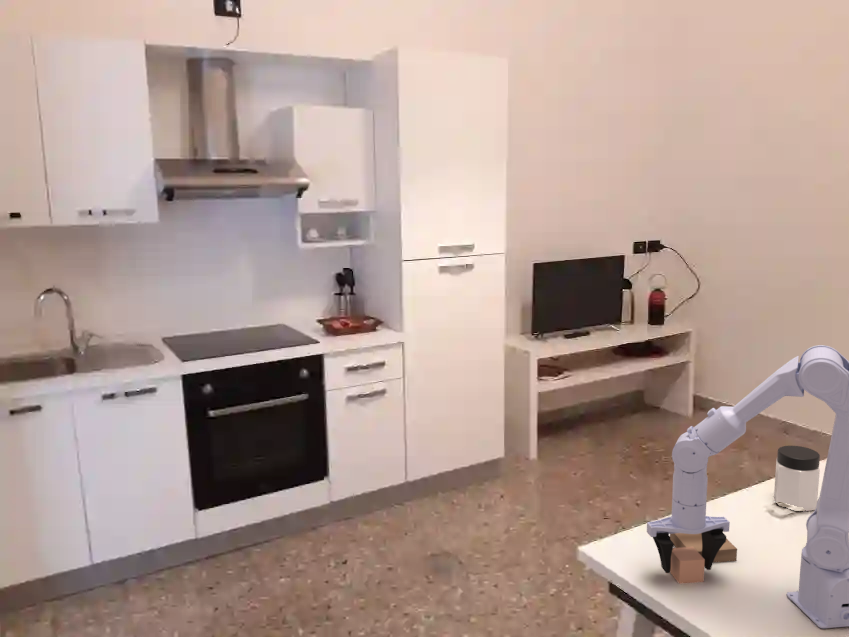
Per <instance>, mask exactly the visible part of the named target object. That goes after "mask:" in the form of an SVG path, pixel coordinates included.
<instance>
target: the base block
mask: <svg viewBox="0 0 849 637" xmlns="http://www.w3.org/2000/svg"><path fill="white" fill-rule="evenodd" d="M669 536H670V540H671V541H672V542H673V543H674V548H681V547H694V548H695V549H696V550H697V552H698V553H699V554H700V555H701V556H702V535H701V533H700V534H684V533H674V534H669ZM737 554H738V547H736V546H735V545H734V544H733V543H732V542H731V541H730V540H729V539H728V538H727V537H726V542H725V543H724V544H723V545H722V547H721V548H720V549H719V551H718V553H717V554H716V557H715V559H714V561H713V563H727V561H729V562H737Z"/></svg>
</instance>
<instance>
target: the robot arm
mask: <svg viewBox="0 0 849 637" xmlns="http://www.w3.org/2000/svg"><path fill="white" fill-rule="evenodd" d="M805 391H806V392H807V393H808V394H809V395H811V396H812V397H814V398H817V399H818V400H821V401H822V402H824V403H825V404H826V405H827V406H828V407H829V408H830V409H831V410H832V411H833V412H834V413H835V418H834V422H833V427H832V432H831V437H830V442H829V446H828V451H827V457H826V462H825V468H824V472H823V477H822V482H821V488H820V491H819V492H820V493H819V496H818V498H817V506H816V509H815V510H813V512H812V513H811V514H810V515H809V516H808V518H807V519H806V524H805V526H806V536H807V537H806V544H805V545H804V547H803V548H801V557H800V567H799V569H800V570H799V580H798V581H799V582H798V590H797V591H788V592H786V596H787V598H789V599H790V601H791V602H793V603H794V604H795V605H796V606H797V607H798V609H800V610H801V611H802V612H803V614H805V615H806V616H807V617H808V618H809V619H810V621H812V622H813V623H814V624H815V626H817V627H818V628H820V629H832V628H833V629H834V628H843V627H849V360H848V359H847V358H846V357H845V356H844V355H842V353H840V351H838V350H837V349H836V348H834V347H832V346H829V345H822V344H819V345H813V346H810V347H809V348H807V349H806V350H805V351H804V352H803V353H802V354H801V356H800V358H799V355H797V356H795V357H793V358H791V359H790V360H789V361H788V362H786V363H784V364H783V365H781V366H780V367H779V368H778V369H777V370H775V371H774V372H773V373H771V375H769V376H768V377H767V378H766V379H764V380H763V381H762V382H761V383H760V384H759V385H758V386H756V387H755V388H754V389H753V390H751V391H750V392H749V393H748V394H747V395H745V397H743V398H742V399H741V400H740V401H738V402H737V403H736V404H735V405H734V406H728V405H727V406H726V405H723V406H722V405H721V406H719V407H718V408H717V409H716V408H715V407H712V408H710V409H709V410H708V412H707V413H706V415H707V416H706V417H705V418H704V419H703V420H702V421H700V422H699V423H697V424H696V425H695V426H693V425H691V426H689V427H688V428H687V429H686V432H684V433H682V434H681V435H679V437H678V438H677V441H676V442H675V445H674V446H673V448H672V452H671V459H672V461H673V463H674V465H673V470H674V471H673V474H672V497H671V498H672V499H671V516H668V517H664V518H660V519H657V520H654V521H648V522H646V533H647V534H648V536H649V537H650V538H652V539H653V541H654V544H655V546H656V549H657V552H658V554H659V555H658V556H659V558H660V563H661V565H660V566H661V569H662V570H663V571H664V573H666V574H671V573H670V570H671V554H672V550H673V548H675V546H674V543H673V542H672V541H671V540H670V534H674V533H684V534H700V533H701V535H702V557H703V558H704V559H705V563H704V569H706V571H710V570H712V567H713V561H714V559H715V557H716V554H717V553H718V551H719V549H720V548H721V547H722V545H723V544H724V543H725V542H726V538H727V535H726V534H725V533H727V532H730V521H729V520H728V519H727V518H726V517H725V516H708V515H707V499H708V498H707V496H708V480H709V477H708V475H707V471H708V470H707V469H708V463H709V457H711V456H716V455H718V454H719V453H721V451H723V450H725V448H727V447H729V446H730V445H731V444H732V443H734V442H735V441H737V440H739V438H741V437H742V436H743V435H745V433H746V432H747V423H748V422H749V421H750V420H752V419H754V418H755V417H756V416H758V415H759V414H760V413H762V412H764V411H766V409H768V408H770V406H772V405H773V404H775V403H777V402H779V401H780V400H781V399H783V398H784V397H797V398H798V397H799V398H802V397H803V398H804V396H805Z"/></svg>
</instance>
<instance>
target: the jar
mask: <svg viewBox="0 0 849 637" xmlns="http://www.w3.org/2000/svg"><path fill="white" fill-rule="evenodd" d="M776 456H777V457H776V460H775V461H776V462H775V464H776V465H775V475H774V476H775V477H774V491H773V497H774V498H773V499H774V501H776V502H783V503H787V504H790V505H794V506H797V507H803V508H804V510H806V511H805V512H810V511H815V509H816V506H817V501H818V499H819V496H818V495H819V487H820V486H819V485H820V483H819V482H820V473H821V471H820V459H821V455H820V453H819V452H817V451H816V450H814V449H812V448H808V447H806V446H799V445H785V446H780V447H779V448H777V455H776ZM776 502H775V503H776Z"/></svg>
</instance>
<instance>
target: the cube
mask: <svg viewBox="0 0 849 637" xmlns="http://www.w3.org/2000/svg"><path fill="white" fill-rule="evenodd" d="M704 563H705V559H704V558H703V557H702V556H701V555H700V554H699V553H698V552H697V550H696V549H695V548H694V547H681V548H676V547H673V550H672V554H671V570H670V573H669V574H671V575H672V576H673V578H674V579H675V580H676V582H677V584H680V585H682V584H692V583H693V584H695V583H704V582H705V581H704V580H705V567H704Z"/></svg>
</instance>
